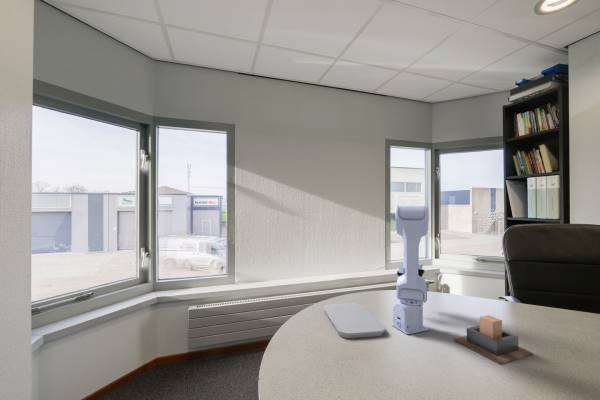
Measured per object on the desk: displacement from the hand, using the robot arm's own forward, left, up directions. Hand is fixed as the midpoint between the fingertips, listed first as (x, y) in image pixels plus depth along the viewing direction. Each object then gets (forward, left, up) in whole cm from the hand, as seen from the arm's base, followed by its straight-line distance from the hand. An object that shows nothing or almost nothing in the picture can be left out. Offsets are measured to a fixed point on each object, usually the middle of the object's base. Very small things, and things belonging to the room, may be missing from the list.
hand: (411, 288), depth 110 cm
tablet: (-27, +1, -10) cm, 29 cm away
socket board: (+3, -30, -9) cm, 32 cm away
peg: (+3, -30, -9) cm, 31 cm away
